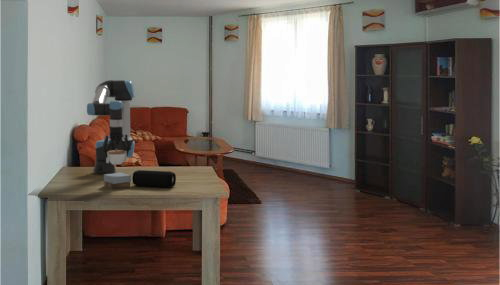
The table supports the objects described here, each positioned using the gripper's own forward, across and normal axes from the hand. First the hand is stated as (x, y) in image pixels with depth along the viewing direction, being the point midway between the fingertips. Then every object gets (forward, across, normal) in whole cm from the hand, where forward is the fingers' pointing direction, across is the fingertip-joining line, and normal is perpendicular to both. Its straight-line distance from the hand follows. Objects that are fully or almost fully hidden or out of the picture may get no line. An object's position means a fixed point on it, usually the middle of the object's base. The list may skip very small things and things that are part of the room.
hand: (116, 162), depth 356 cm
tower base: (+16, 0, 0) cm, 16 cm away
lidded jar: (+1, 0, 0) cm, 1 cm away
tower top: (+12, 0, 0) cm, 12 cm away
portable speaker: (+16, +20, -10) cm, 28 cm away
